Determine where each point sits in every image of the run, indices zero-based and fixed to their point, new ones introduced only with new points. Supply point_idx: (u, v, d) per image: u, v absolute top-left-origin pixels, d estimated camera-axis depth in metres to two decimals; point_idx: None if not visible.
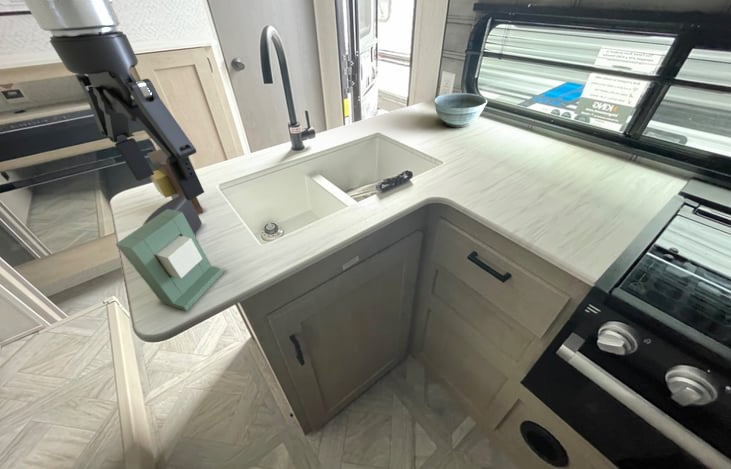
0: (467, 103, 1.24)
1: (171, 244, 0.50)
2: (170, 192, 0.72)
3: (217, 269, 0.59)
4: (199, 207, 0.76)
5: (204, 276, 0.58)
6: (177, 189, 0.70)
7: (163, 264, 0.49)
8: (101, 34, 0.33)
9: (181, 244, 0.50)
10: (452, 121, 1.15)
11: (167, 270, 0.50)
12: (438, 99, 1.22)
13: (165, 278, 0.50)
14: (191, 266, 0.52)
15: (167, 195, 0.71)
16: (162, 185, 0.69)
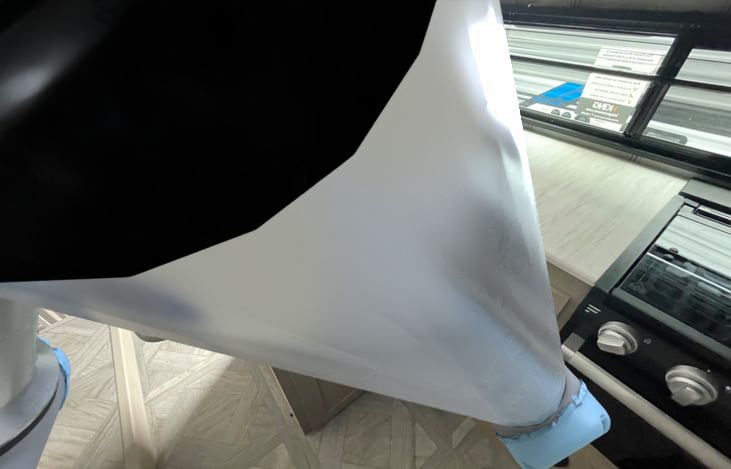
0: None
1: None
2: None
3: None
4: None
5: None
6: None
7: None
8: None
9: None
10: None
11: None
12: None
13: None
14: None
15: None
16: None
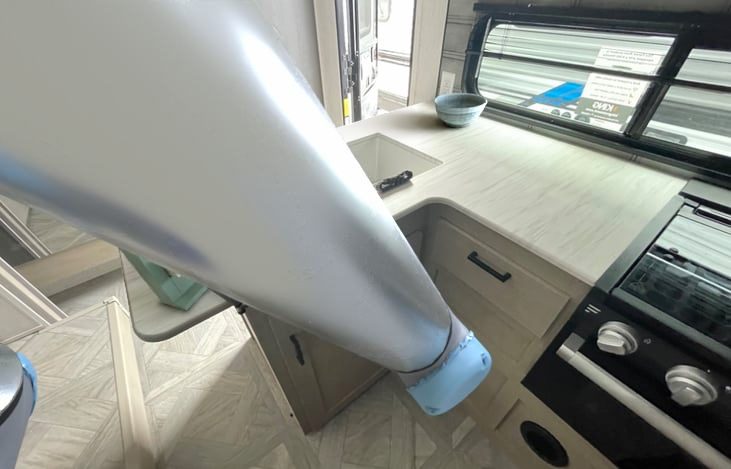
0: (467, 103, 1.24)
1: None
2: None
3: None
4: None
5: None
6: None
7: None
8: None
9: None
10: (452, 121, 1.15)
11: (164, 269, 0.51)
12: (438, 99, 1.22)
13: (165, 278, 0.50)
14: None
15: None
16: None
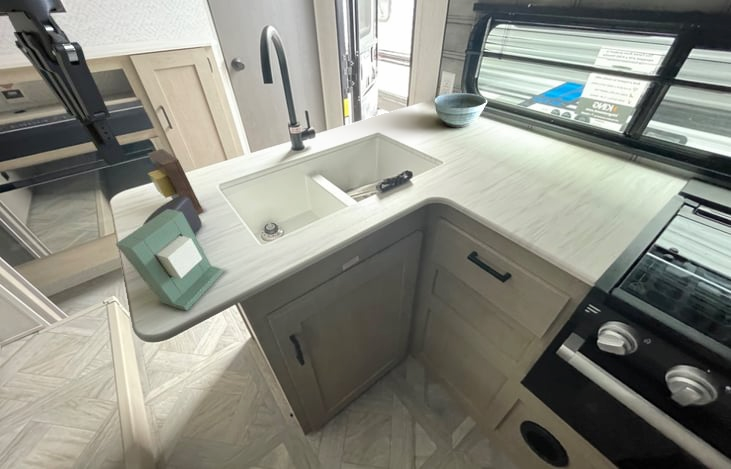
0: (467, 103, 1.24)
1: (171, 244, 0.50)
2: (170, 192, 0.72)
3: (217, 269, 0.59)
4: (199, 207, 0.76)
5: (204, 276, 0.58)
6: (177, 189, 0.70)
7: (163, 264, 0.49)
8: None
9: (180, 244, 0.50)
10: (452, 121, 1.15)
11: (167, 270, 0.50)
12: (438, 99, 1.22)
13: (165, 278, 0.50)
14: (191, 266, 0.52)
15: (167, 195, 0.71)
16: (162, 185, 0.69)
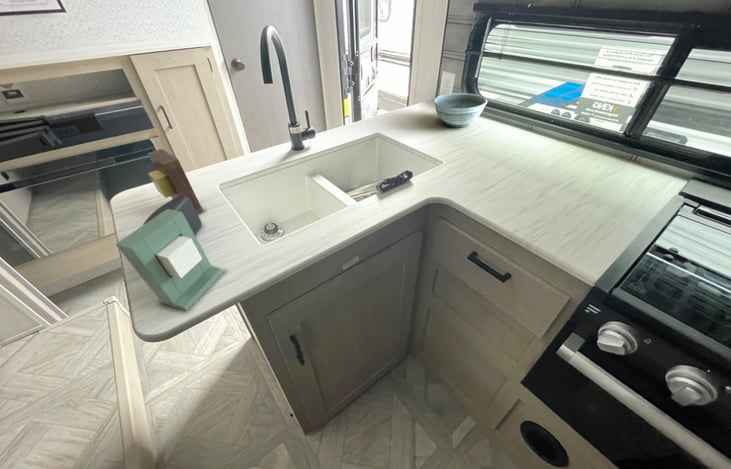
0: (467, 103, 1.24)
1: (171, 244, 0.50)
2: (170, 192, 0.72)
3: (217, 269, 0.59)
4: (199, 207, 0.76)
5: (204, 276, 0.58)
6: (177, 189, 0.70)
7: (163, 264, 0.49)
8: None
9: (180, 244, 0.50)
10: (452, 121, 1.15)
11: (167, 270, 0.50)
12: (438, 99, 1.22)
13: (165, 278, 0.50)
14: (191, 266, 0.52)
15: (167, 195, 0.71)
16: (162, 185, 0.69)
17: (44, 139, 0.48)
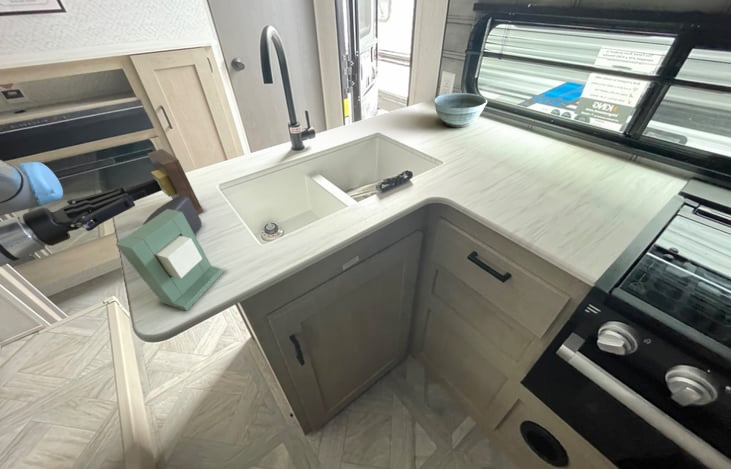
0: (467, 103, 1.24)
1: (171, 244, 0.50)
2: (173, 191, 0.72)
3: (217, 269, 0.59)
4: (199, 207, 0.76)
5: (204, 276, 0.58)
6: (177, 189, 0.70)
7: (163, 264, 0.49)
8: None
9: (180, 244, 0.50)
10: (452, 121, 1.15)
11: (167, 270, 0.50)
12: (438, 99, 1.22)
13: (165, 278, 0.50)
14: (191, 266, 0.52)
15: (170, 194, 0.72)
16: (165, 184, 0.70)
17: (127, 202, 0.65)
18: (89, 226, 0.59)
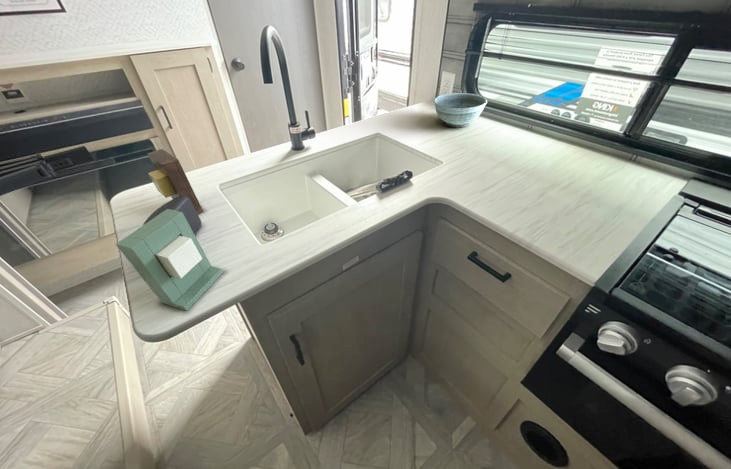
0: (467, 103, 1.24)
1: (171, 244, 0.50)
2: (170, 192, 0.72)
3: (217, 269, 0.59)
4: (199, 207, 0.76)
5: (204, 276, 0.58)
6: (177, 189, 0.70)
7: (163, 264, 0.49)
8: None
9: (180, 244, 0.50)
10: (452, 121, 1.15)
11: (167, 270, 0.50)
12: (438, 99, 1.22)
13: (165, 278, 0.50)
14: (191, 266, 0.52)
15: (167, 195, 0.71)
16: (162, 185, 0.69)
17: (42, 170, 0.53)
18: None
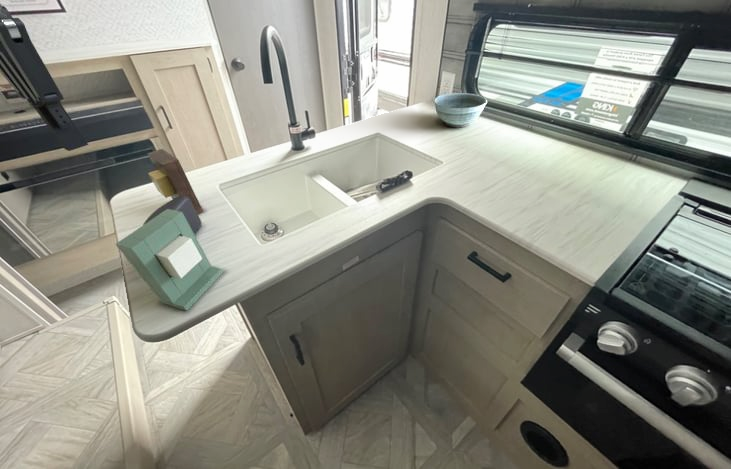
0: (467, 103, 1.24)
1: (171, 244, 0.50)
2: (170, 192, 0.72)
3: (217, 269, 0.59)
4: (199, 207, 0.76)
5: (204, 276, 0.58)
6: (177, 189, 0.70)
7: (163, 264, 0.49)
8: None
9: (180, 244, 0.50)
10: (452, 121, 1.15)
11: (167, 270, 0.50)
12: (438, 99, 1.22)
13: (165, 278, 0.50)
14: (191, 266, 0.52)
15: (167, 195, 0.71)
16: (162, 185, 0.69)
17: None
18: None
